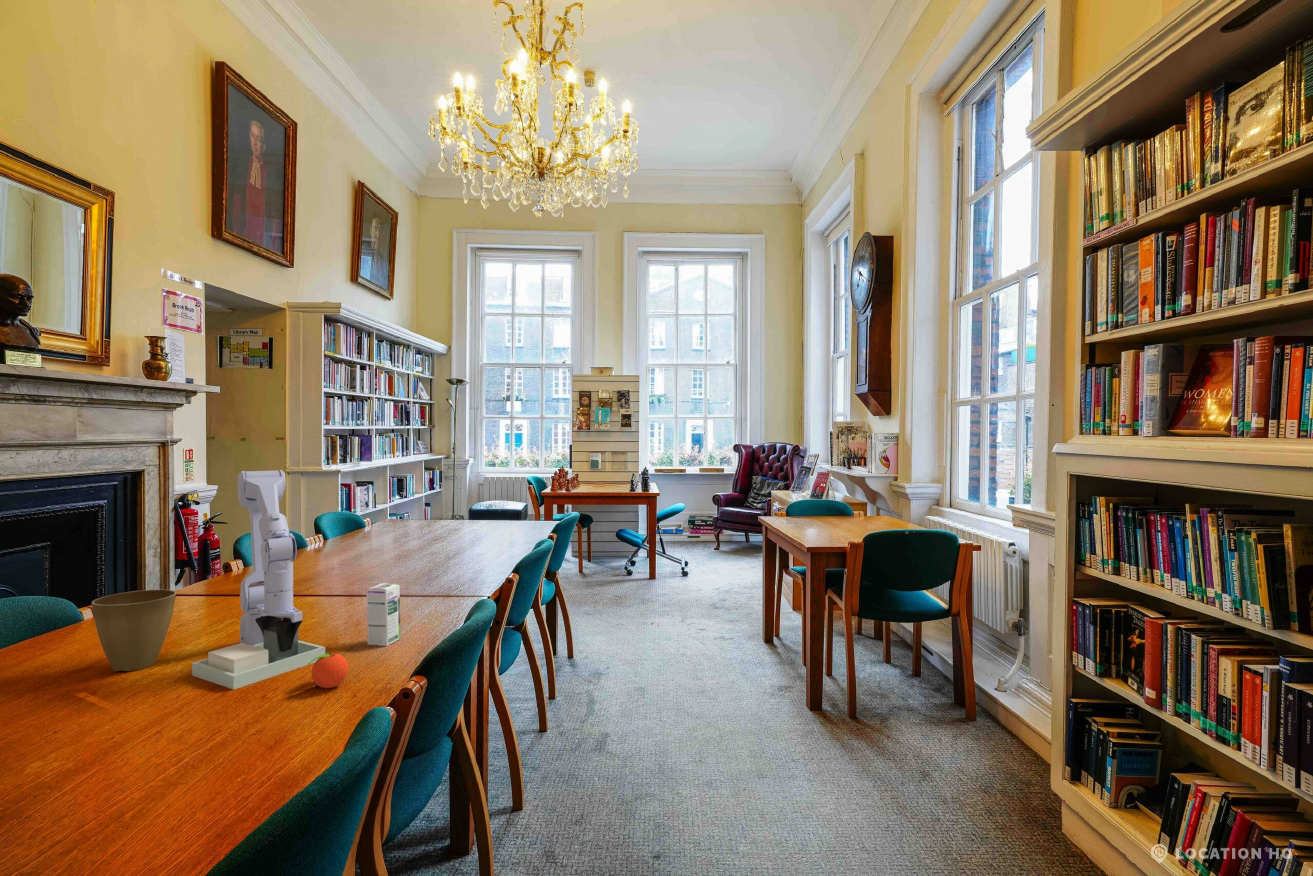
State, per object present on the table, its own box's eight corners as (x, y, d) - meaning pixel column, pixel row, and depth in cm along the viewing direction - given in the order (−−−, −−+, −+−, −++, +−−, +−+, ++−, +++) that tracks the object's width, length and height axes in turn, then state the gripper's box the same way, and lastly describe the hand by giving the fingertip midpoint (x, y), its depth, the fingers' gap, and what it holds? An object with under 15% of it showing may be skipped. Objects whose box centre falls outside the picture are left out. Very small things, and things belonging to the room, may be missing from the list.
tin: (263, 660, 143) (263, 629, 144) (284, 653, 148) (285, 624, 148) (276, 664, 141) (276, 632, 141) (297, 657, 146) (298, 627, 146)
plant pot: (158, 674, 138) (158, 602, 138) (76, 682, 134) (75, 607, 134) (187, 652, 152) (187, 586, 152) (114, 658, 148) (113, 590, 148)
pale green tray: (192, 679, 136) (192, 662, 136) (283, 651, 153) (283, 636, 153) (233, 693, 128) (233, 676, 128) (325, 662, 146) (325, 647, 146)
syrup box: (387, 646, 156) (387, 588, 156) (366, 645, 158) (366, 587, 158) (400, 639, 162) (400, 583, 162) (380, 637, 163) (380, 582, 163)
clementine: (304, 697, 126) (304, 662, 126) (306, 685, 132) (306, 651, 132) (348, 690, 130) (349, 655, 130) (348, 678, 136) (348, 645, 136)
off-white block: (208, 675, 136) (208, 652, 136) (242, 664, 142) (242, 642, 142) (234, 683, 131) (234, 660, 131) (268, 672, 137) (268, 649, 137)
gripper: (242, 589, 144) (242, 648, 144) (280, 597, 137) (280, 659, 137) (273, 583, 150) (273, 639, 150) (311, 590, 143) (311, 649, 143)
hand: (278, 648), depth 144 cm, fingers closed on tin, 5 cm apart
